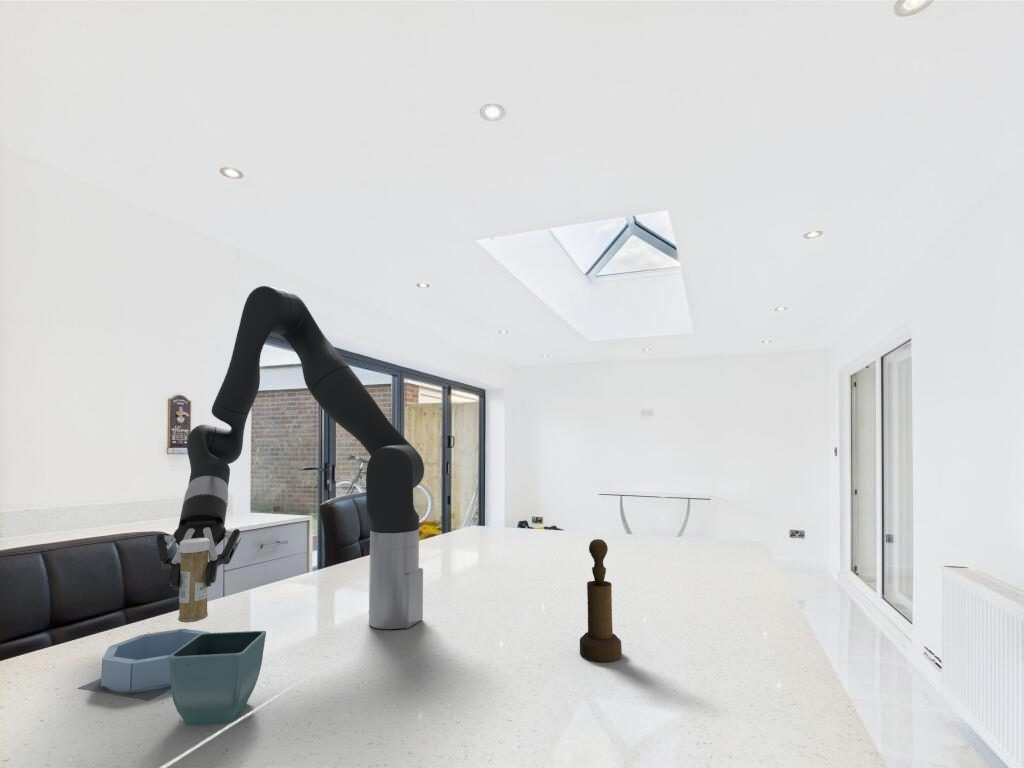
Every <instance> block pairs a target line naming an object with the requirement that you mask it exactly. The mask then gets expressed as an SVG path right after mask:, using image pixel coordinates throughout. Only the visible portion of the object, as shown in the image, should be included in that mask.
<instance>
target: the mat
mask: <svg viewBox="0 0 1024 768" xmlns="http://www.w3.org/2000/svg"><path fill="white" fill-rule="evenodd" d="M77 689H80V690H86V691H91V692H95V693H96V692H97V693H100V694H101V693H103V694H106V695H107V694H109V695H113V696H119V697H124V698H131V699H137V700H142V701H151V700H153V699H155V698H157V697H160V696H161V695H164V694H165V693H167V692H170V691H171V687H169V688H165V689H161V690H155V691H150V692H142V693H116V692H112V691H109V690H107V689H106V688H105V687H104V686H101V678H99V679H95V680H94V681H90V682H89V683H87V684H84V685H81V686H79V687H77Z"/></svg>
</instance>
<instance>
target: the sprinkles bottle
mask: <svg viewBox="0 0 1024 768" xmlns="http://www.w3.org/2000/svg"><path fill="white" fill-rule="evenodd" d="M209 549H210V540H209V539H208V538H193V539H187V540H183V541H181V542H180V552H181V553H180V555H181V564H180V583H179V589H178V590H179V592H178V594H179V596H178V602H179V608H178V609H179V611H178V613H179V616H178V618H177V620H178V621H179V622H180V623H186V624H187V623H196V622H198V621H203V620H204V619H206V618H208V616H209V613H208V597H209V588H208V587H206V582H205V579H206V572H207V565H208V562H209V557H208V552H209V551H208V550H209Z"/></svg>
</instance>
